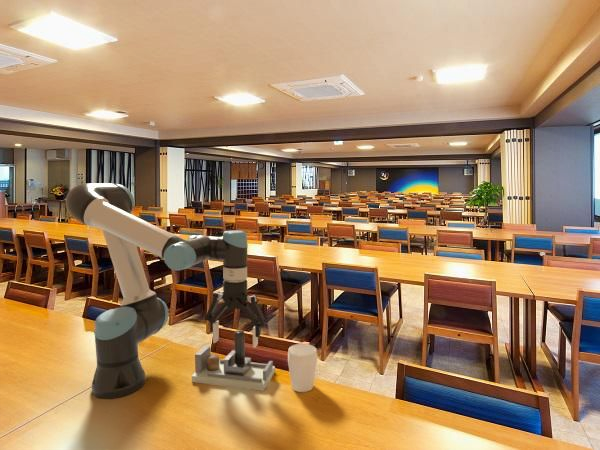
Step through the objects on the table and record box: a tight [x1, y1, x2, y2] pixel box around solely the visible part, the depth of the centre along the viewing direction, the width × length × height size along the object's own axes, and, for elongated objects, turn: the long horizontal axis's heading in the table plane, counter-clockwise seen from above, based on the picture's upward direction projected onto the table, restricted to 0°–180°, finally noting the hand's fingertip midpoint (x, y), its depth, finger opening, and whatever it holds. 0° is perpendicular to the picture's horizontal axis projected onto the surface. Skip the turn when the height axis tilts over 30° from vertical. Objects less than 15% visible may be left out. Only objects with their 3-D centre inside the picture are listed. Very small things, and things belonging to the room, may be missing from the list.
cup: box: [287, 343, 318, 393], centre depth 117 cm, size 9×9×12 cm
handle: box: [223, 329, 252, 376], centre depth 122 cm, size 7×7×13 cm
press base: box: [191, 344, 276, 392], centre depth 123 cm, size 24×12×8 cm, turn 77°
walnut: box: [207, 353, 220, 371], centre depth 125 cm, size 4×4×4 cm
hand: (235, 343), depth 122 cm, fingers open, 13 cm apart
